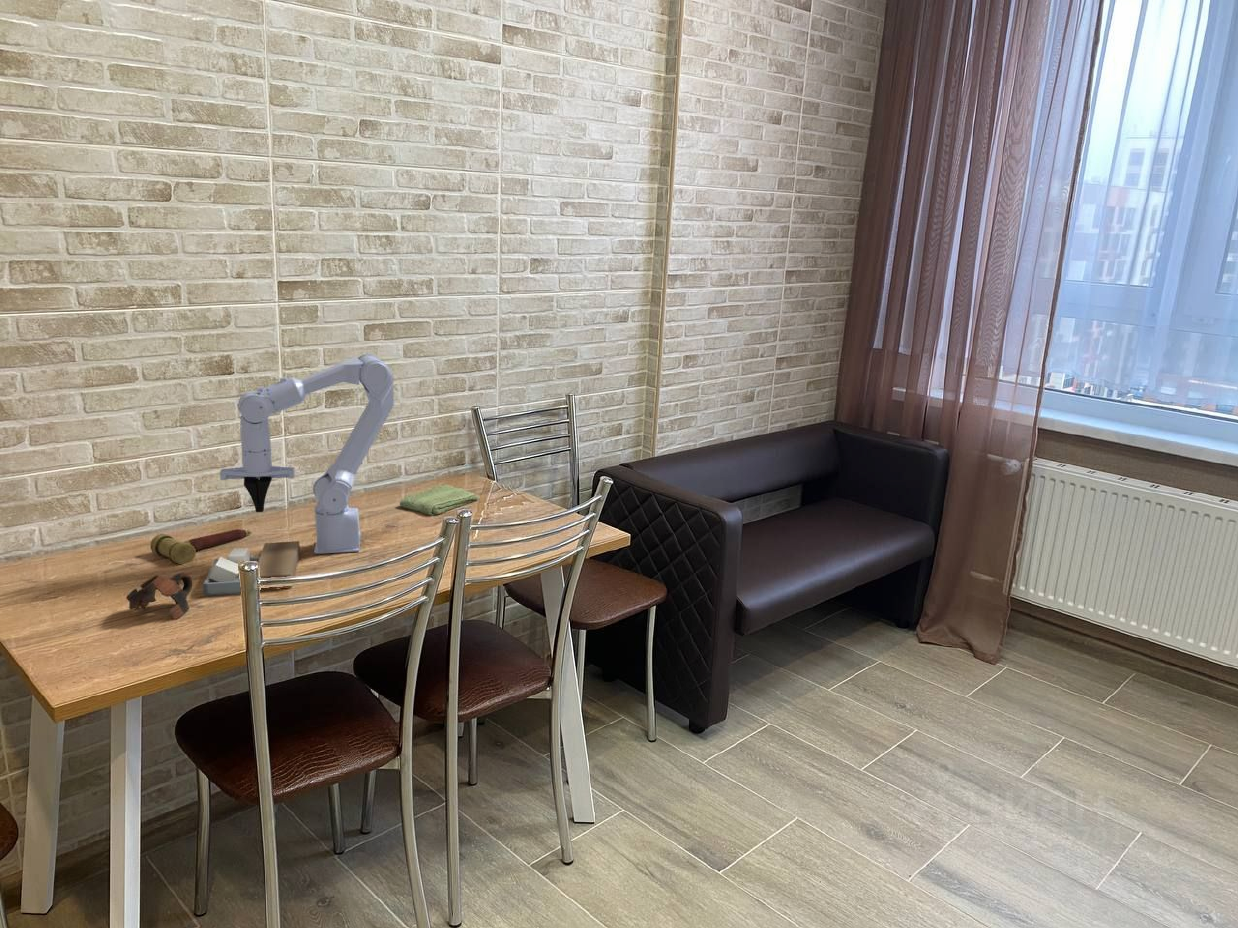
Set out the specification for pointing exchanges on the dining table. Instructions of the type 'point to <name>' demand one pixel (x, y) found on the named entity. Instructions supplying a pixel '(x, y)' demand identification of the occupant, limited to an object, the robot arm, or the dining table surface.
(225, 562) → the white squarish block
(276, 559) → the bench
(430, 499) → the washcloth
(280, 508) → the dining table surface
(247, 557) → the tile
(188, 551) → the gavel
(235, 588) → the tray
